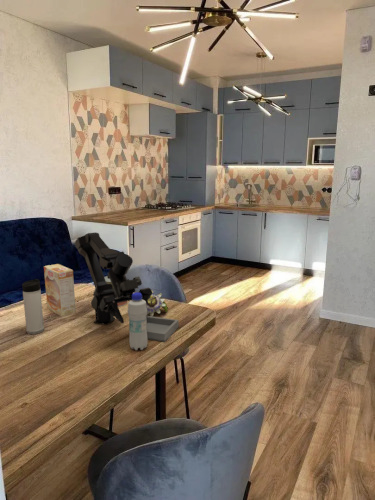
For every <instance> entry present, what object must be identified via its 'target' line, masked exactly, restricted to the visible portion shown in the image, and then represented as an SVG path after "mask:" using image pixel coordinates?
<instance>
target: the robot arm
mask: <svg viewBox="0 0 375 500" xmlns="http://www.w3.org/2000/svg"><path fill="white" fill-rule="evenodd" d="M74 244H75V245H74V246H75V248H76V249H77V252H78V254H79V255H80V256H82V257H83V258H84V259H85V262H86V264H87V267H88V270H89V274H90V276H91V279H92V283H93V285H94V290H93V291H94V292H93V294H92V296H93V297H92V299H91V301H90V304H91V308H92V309H93V310H94V313H95V319H94V321H93V323H94V324H100V325H109V324H111V323H112V322H114V320H115V319H116V320H118V321H119V322H120V323H121V324H124V323H125V321H124V320H125V319H124V318H123V315H122V313H121V311H120V309H119V307H118V304H117V303H121V302H125V301H127V302H129V301H131V300H132V294H133V293H136V289H139V287H140V286H142V284H143V283H142V279H141V277H140V276H134V277H133V278H132V279H128V278H127V276H126V275H127V274H128V272H129V270H130V269H131V267H132V265H133V262H134V261H133V258H132V257H131V256H130V255H128V253H127V254H126V253H125V252H124V251H117V250H116V249H112V248H110V247H109V246H108V245H107V244H106V242H105V241H104V240H103V238H101V235H100V233H99V232H88V233H86V234H84V235H83V236H80V237H77V238H76V240H75V241H74ZM98 257H99V258H98ZM102 269H103V270H108V272H107V275H106V276H107V278H108V279H110V281H111V283H112V284H108V283H106V281H105V278H104V277H105V275H104V272H103V270H102ZM152 291H153V290H152V289H151V288H150V287H145V288H140V289H139V291H138V292H139V293H141V294H142V300H145V301H146V305H147V300H148V299H149V298H150V296H151V295H152ZM147 316H149V314H147ZM147 316H146V317H147Z"/></svg>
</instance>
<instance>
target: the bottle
mask: <svg viewBox="0 0 375 500" xmlns="http://www.w3.org/2000/svg"><path fill="white" fill-rule="evenodd" d="M127 304H128V305H127V316H128V328H129V329H128V330H129V333H128V334H129V337H128V338H129V340H128V341H129V346H130V349H132V350H135V351H138V349H140V351H143V350H144V349H146V348H147V346H148V340H149V339H147V323H146V316H147V315H148V314H147V305H146V301H145V300H142V294H141V293H139V291H138V292H137V291H135V292H133V294H132V300H130V301H128V302H127Z"/></svg>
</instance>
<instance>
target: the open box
mask: <svg viewBox="0 0 375 500" xmlns="http://www.w3.org/2000/svg"><path fill="white" fill-rule="evenodd" d="M146 323H147V339H148V340H151V341H156V342H162V343H165V342H167V341H168V339H169V338H170V337H171V336H172V335H173V333H175V332H176V331H177V329H178V328H179V327H180V326H179V325H180V323H179V319H174V318H166V317H159V316H150V315H148V316H147V317H146Z"/></svg>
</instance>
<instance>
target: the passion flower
mask: <svg viewBox="0 0 375 500" xmlns="http://www.w3.org/2000/svg"><path fill="white" fill-rule="evenodd" d="M165 300H166V299H165V298H162V293H157V294H155V292H154V291H153V290H152V295H151V296H150V298H149V299H148V300H147V315H149V316H152V317H154V314H155V312H156V314H161V308H162V309H163V310H164V311H165V312H166V313H167V312H168V309H169V306H167V303H166V301H165Z"/></svg>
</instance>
